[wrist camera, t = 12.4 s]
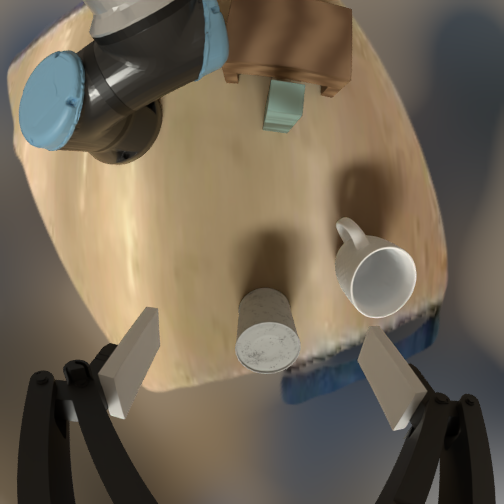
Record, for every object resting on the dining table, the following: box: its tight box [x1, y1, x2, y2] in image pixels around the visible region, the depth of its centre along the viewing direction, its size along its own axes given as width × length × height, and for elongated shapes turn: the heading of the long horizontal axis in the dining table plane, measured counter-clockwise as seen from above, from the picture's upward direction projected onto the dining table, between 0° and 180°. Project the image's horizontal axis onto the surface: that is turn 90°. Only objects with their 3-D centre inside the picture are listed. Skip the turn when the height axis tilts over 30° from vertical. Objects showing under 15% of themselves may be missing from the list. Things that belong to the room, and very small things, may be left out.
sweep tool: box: [263, 77, 305, 133], centre depth 32 cm, size 24×4×14 cm, turn 173°
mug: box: [335, 217, 416, 318], centre depth 41 cm, size 15×11×13 cm
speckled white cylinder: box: [235, 288, 300, 374], centre depth 45 cm, size 10×10×12 cm
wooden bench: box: [222, 0, 352, 98], centre depth 33 cm, size 18×14×10 cm
